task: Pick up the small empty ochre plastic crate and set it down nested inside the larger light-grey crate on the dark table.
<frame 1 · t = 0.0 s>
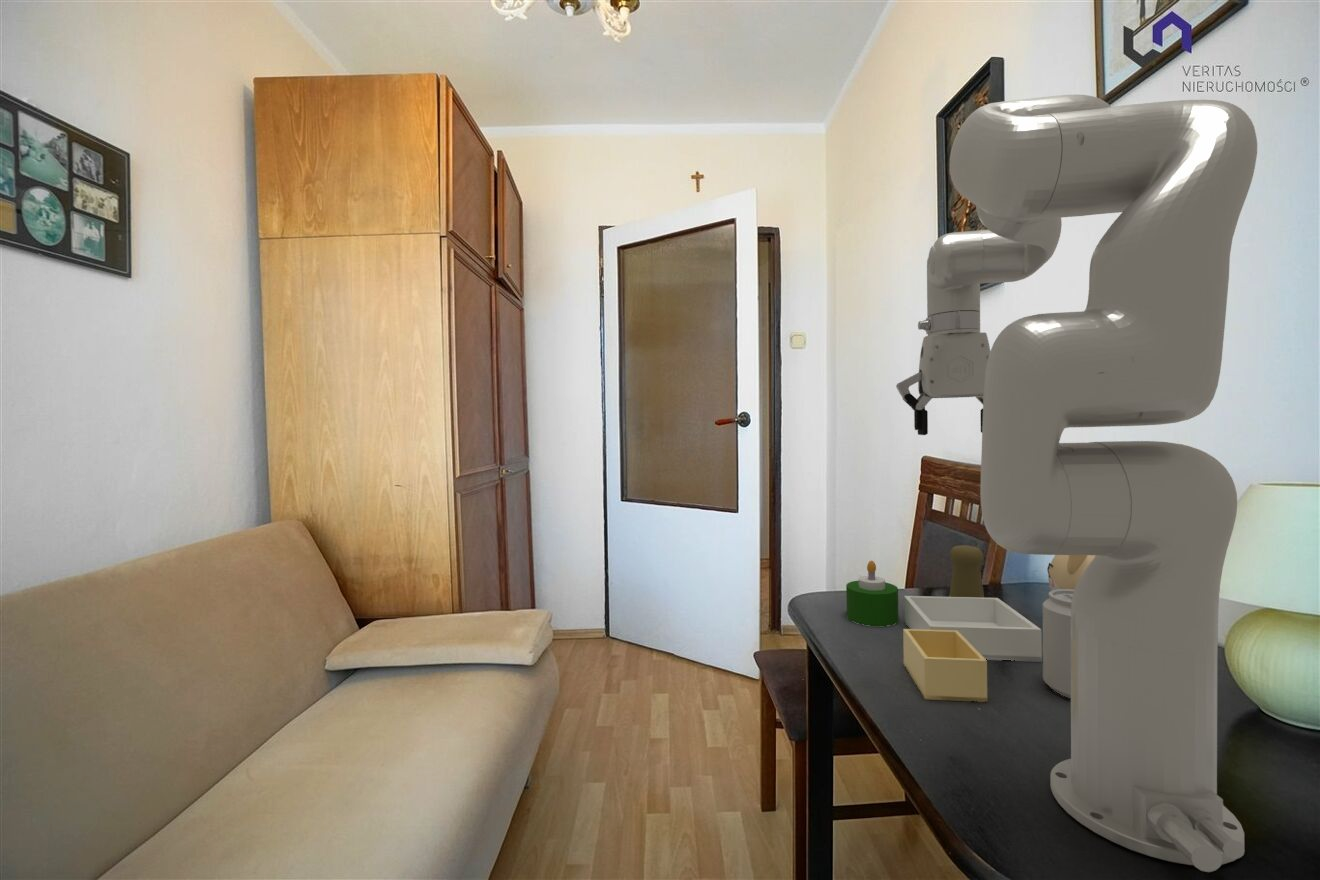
hand: (954, 434, 93), 31 cm above the table, tool pointing down, fingers open, 9 cm apart
candle: (872, 620, 99), on the table
small crate: (942, 682, 74), on the table
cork: (966, 608, 103), on the table
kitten: (1089, 629, 92), on the table
can: (1079, 693, 71), on the table
large crate: (966, 640, 88), on the table
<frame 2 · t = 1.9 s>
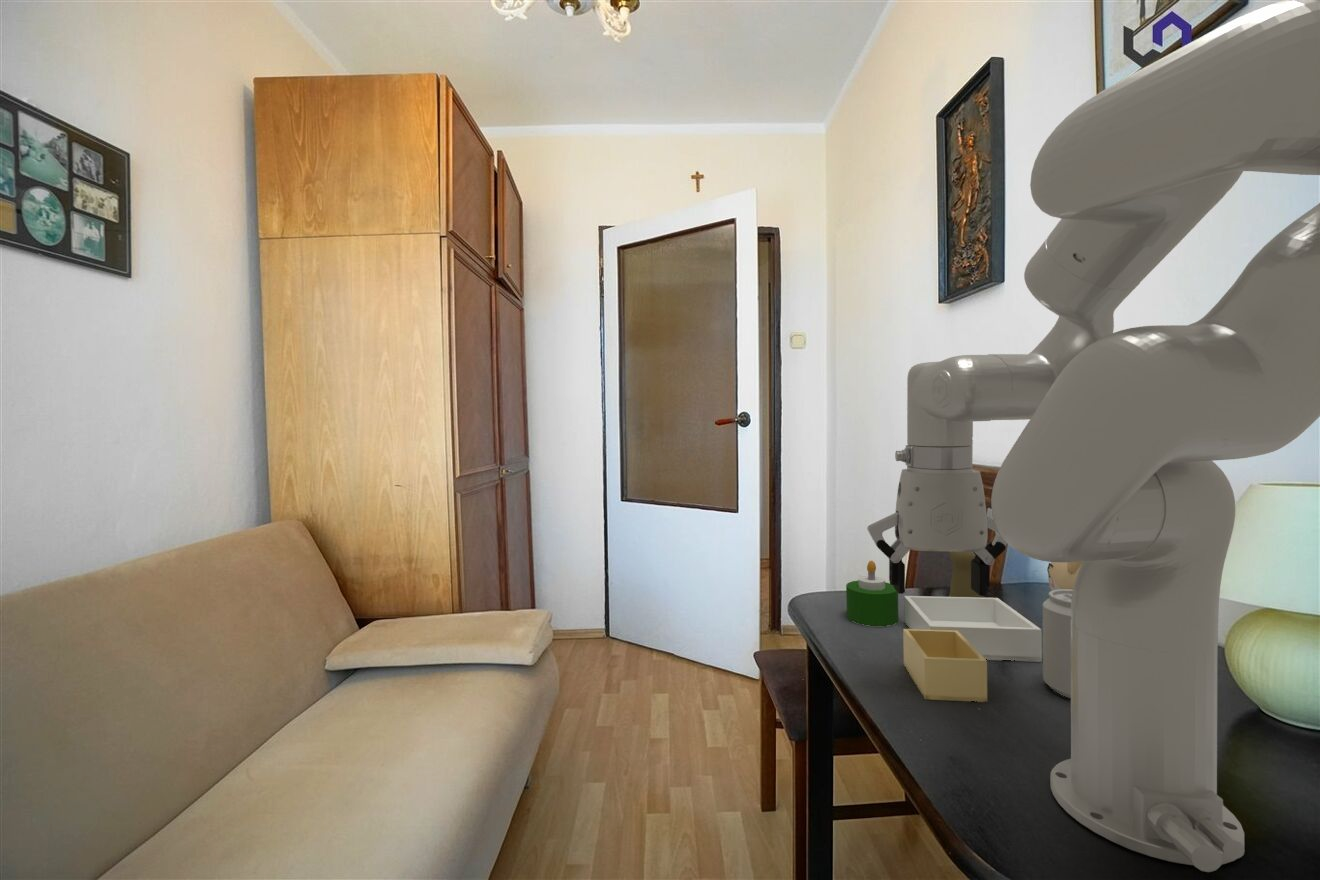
hand: (938, 591, 75), 12 cm above the table, tool pointing down, fingers open, 9 cm apart
nothing on the table moved.
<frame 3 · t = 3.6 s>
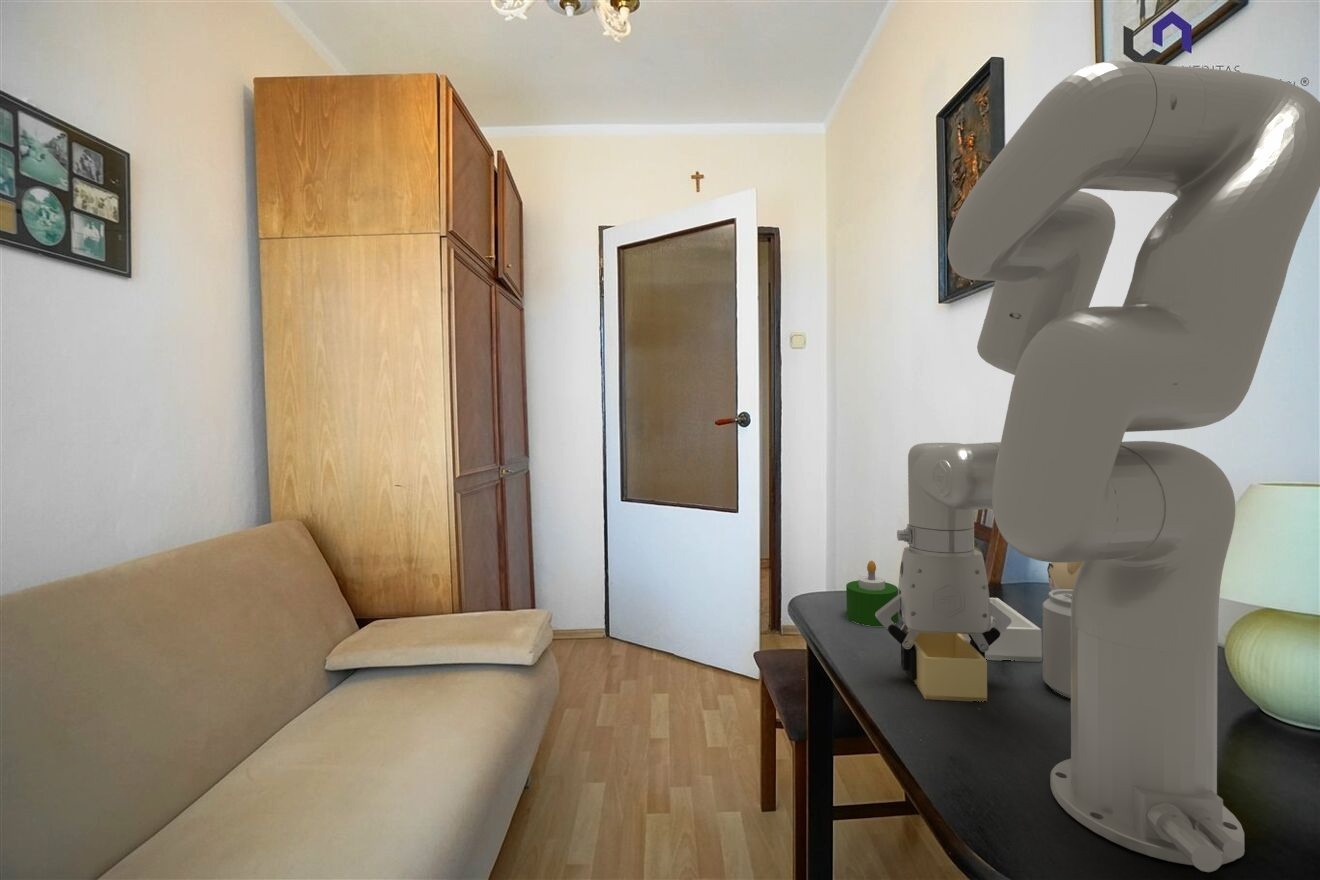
hand: (942, 676, 74), 1 cm above the table, tool pointing down, fingers closed on small crate, 7 cm apart
small crate: (942, 682, 74), on the table, touching gripper
everything else where it was.
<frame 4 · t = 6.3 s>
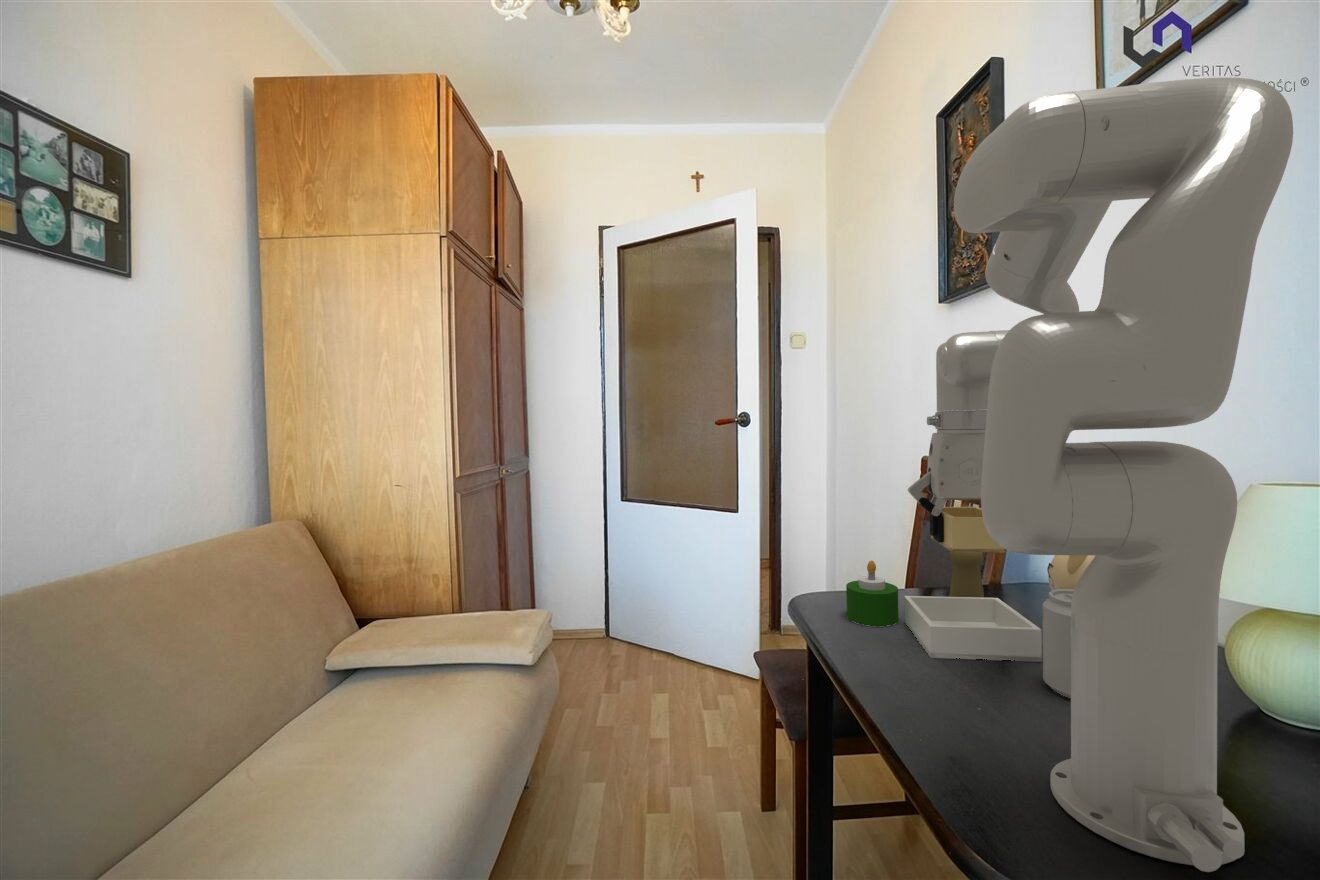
hand: (965, 540, 88), 15 cm above the table, tool pointing down, fingers closed on small crate, 7 cm apart
small crate: (965, 544, 88), point 15 cm above the table, touching gripper
everything else where it was.
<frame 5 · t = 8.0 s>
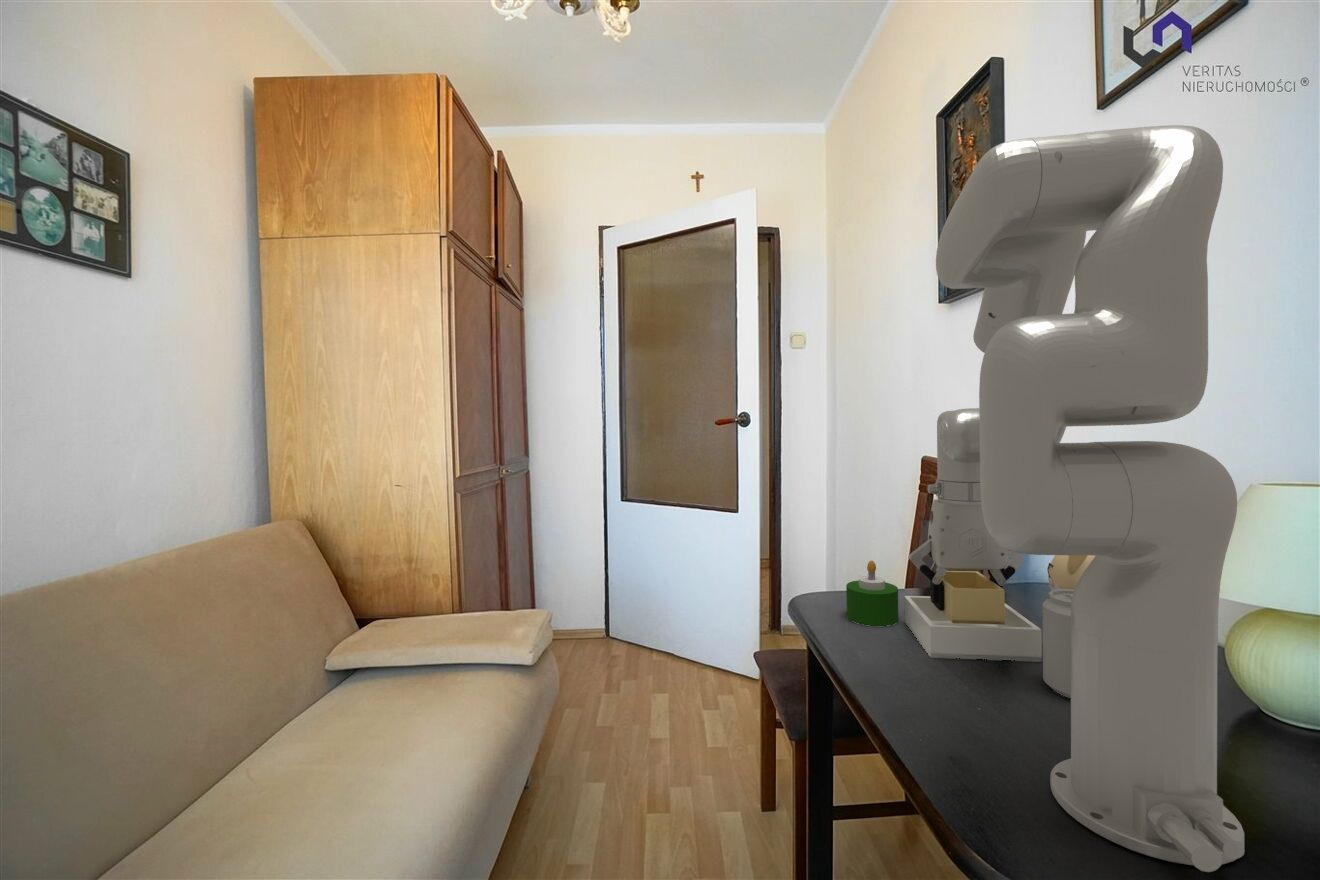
hand: (965, 607, 88), 5 cm above the table, tool pointing down, fingers closed on small crate, 7 cm apart
small crate: (965, 612, 88), point 4 cm above the table, touching gripper
everything else where it was.
when the fingers open (4 cm above the table, at t = 9.2 s): small crate drops 3 cm, resting on large crate.
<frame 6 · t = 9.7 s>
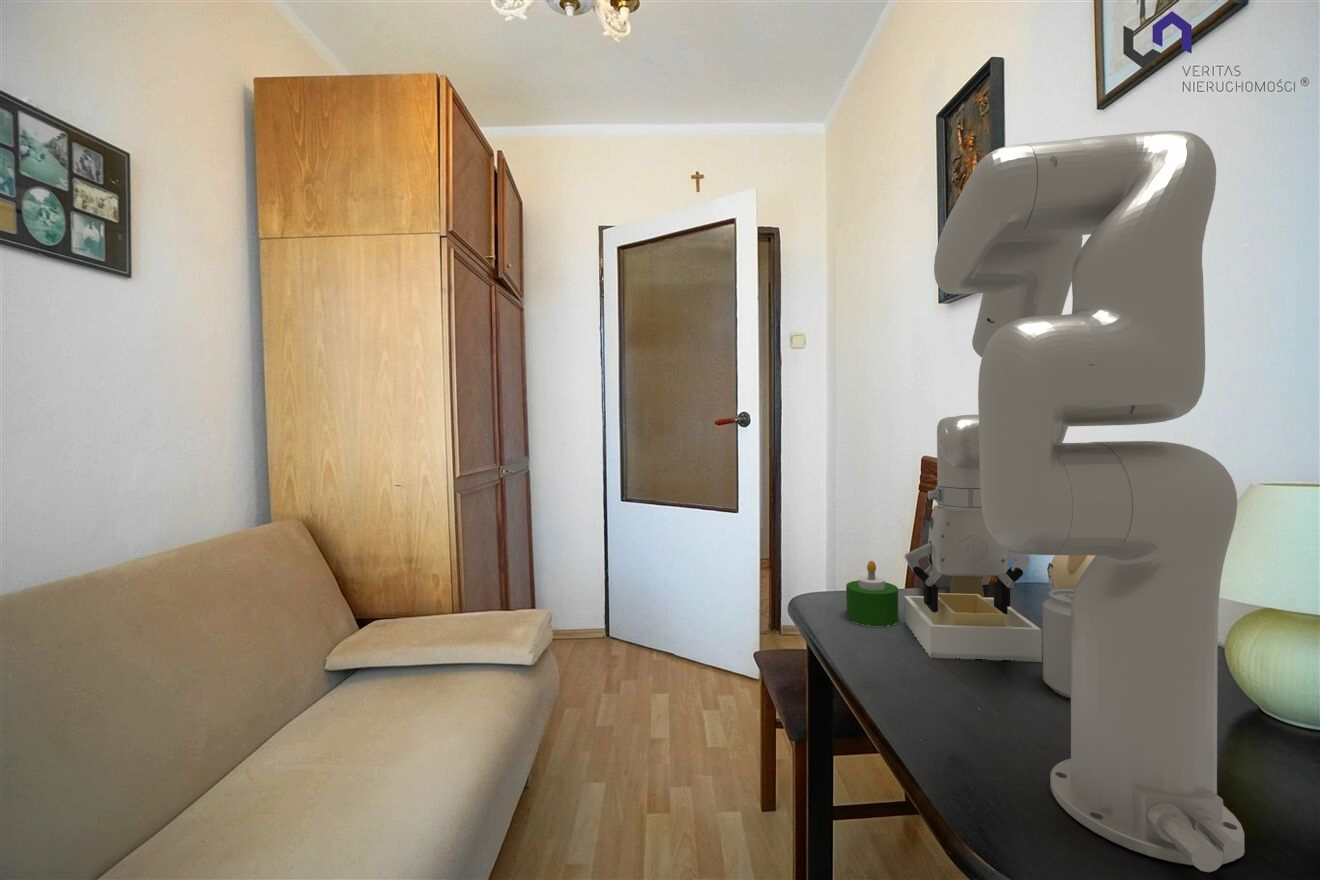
hand: (966, 610, 88), 5 cm above the table, tool pointing down, fingers open, 9 cm apart
small crate: (966, 635, 88), point 1 cm above the table, touching large crate
large crate: (966, 640, 88), on the table, touching small crate
everything else where it was.
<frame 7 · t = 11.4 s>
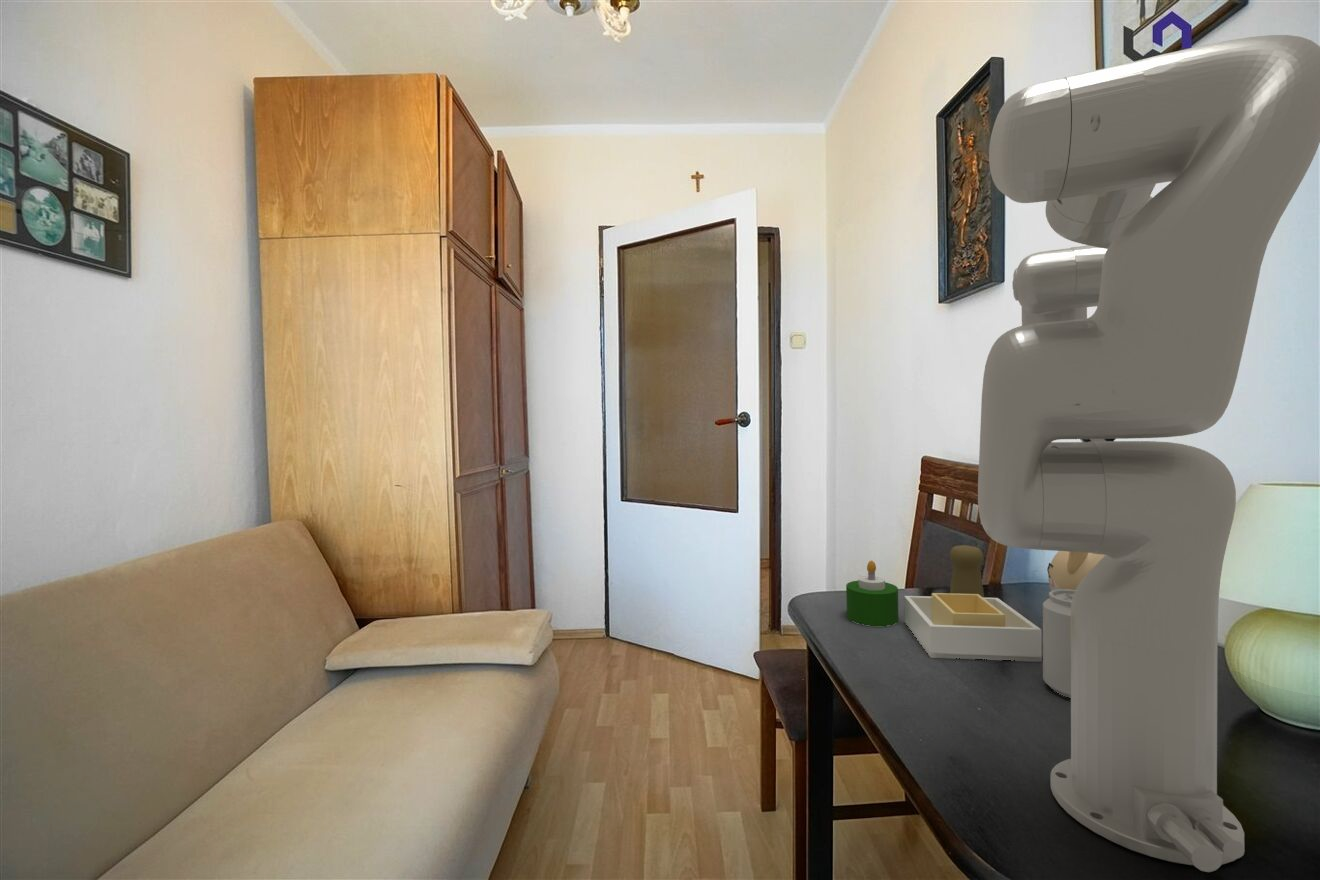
hand: (1055, 479, 80), 25 cm above the table, tool pointing down, fingers open, 9 cm apart
nothing on the table moved.
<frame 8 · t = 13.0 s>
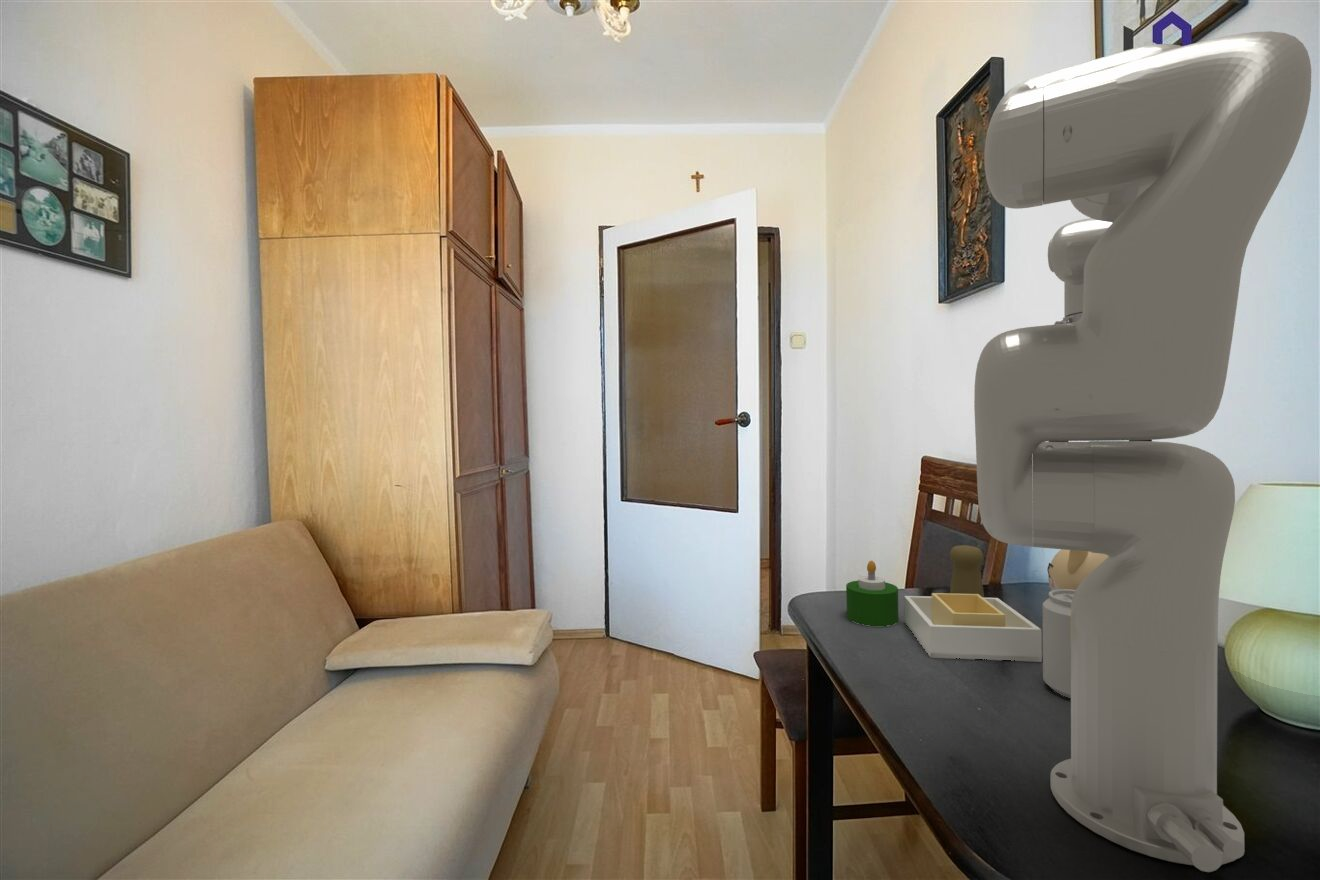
hand: (1099, 455, 78), 28 cm above the table, tool pointing down, fingers open, 9 cm apart
nothing on the table moved.
at the end: small crate inside the target area on the large crate (0.0 cm from its centre), point 0.7 cm above the large crate's base; small crate tilted 0°; the gripper is holding nothing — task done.
